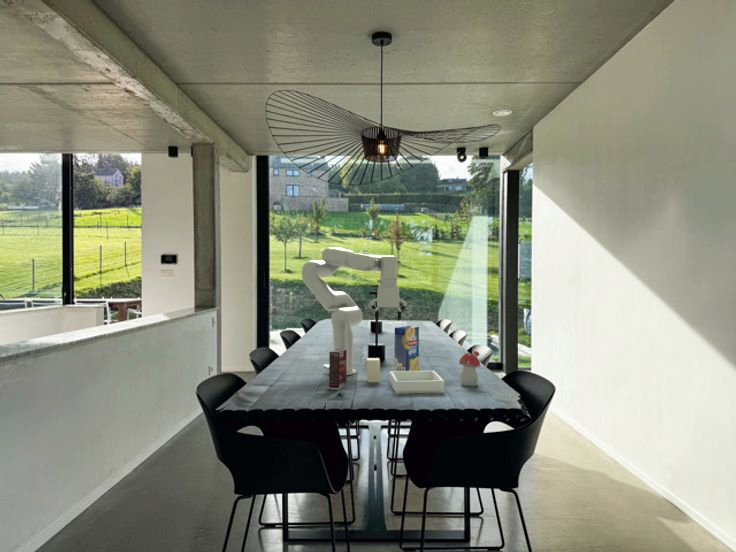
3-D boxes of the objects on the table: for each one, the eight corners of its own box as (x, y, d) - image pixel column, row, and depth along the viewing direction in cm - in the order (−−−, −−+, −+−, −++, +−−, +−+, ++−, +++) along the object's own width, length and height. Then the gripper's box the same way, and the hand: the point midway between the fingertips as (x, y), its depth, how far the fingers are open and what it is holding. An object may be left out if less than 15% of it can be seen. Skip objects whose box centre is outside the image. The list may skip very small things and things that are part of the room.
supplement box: (339, 390, 225) (339, 352, 225) (328, 389, 227) (328, 351, 226) (347, 386, 233) (347, 349, 233) (336, 385, 235) (336, 348, 234)
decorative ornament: (482, 385, 233) (482, 351, 233) (473, 388, 229) (473, 352, 229) (465, 382, 240) (465, 348, 240) (456, 384, 236) (456, 350, 236)
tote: (395, 394, 218) (395, 381, 218) (389, 382, 240) (389, 371, 240) (444, 393, 220) (444, 380, 220) (434, 381, 242) (434, 370, 242)
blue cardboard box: (418, 371, 266) (418, 326, 266) (406, 374, 258) (406, 328, 257) (407, 369, 270) (407, 325, 270) (394, 373, 262) (394, 327, 261)
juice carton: (367, 382, 240) (367, 360, 240) (366, 380, 245) (366, 358, 245) (380, 382, 240) (380, 360, 240) (378, 380, 246) (378, 358, 246)
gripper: (368, 282, 244) (368, 320, 245) (407, 283, 242) (406, 321, 243) (370, 282, 252) (370, 318, 252) (407, 282, 250) (407, 319, 250)
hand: (388, 319), depth 247 cm, fingers open, 9 cm apart
